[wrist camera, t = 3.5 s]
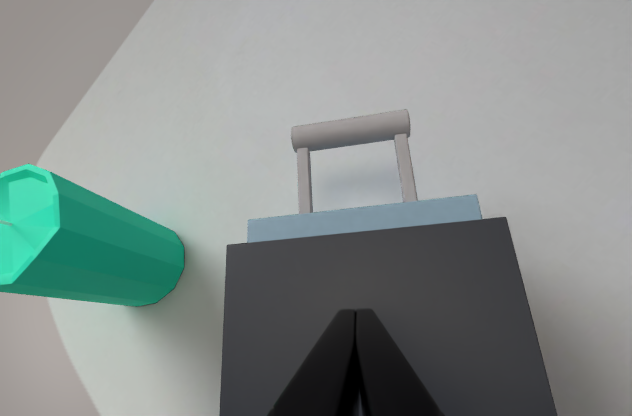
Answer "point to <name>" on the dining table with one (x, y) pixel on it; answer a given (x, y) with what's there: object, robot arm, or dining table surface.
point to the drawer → (361, 217)
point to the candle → (80, 244)
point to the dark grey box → (388, 314)
